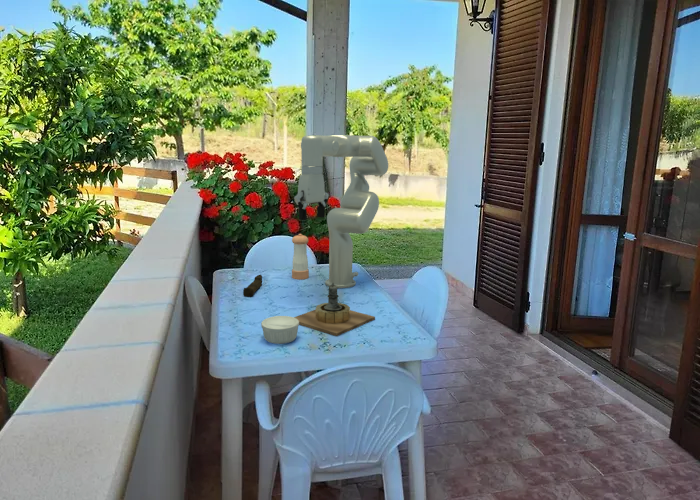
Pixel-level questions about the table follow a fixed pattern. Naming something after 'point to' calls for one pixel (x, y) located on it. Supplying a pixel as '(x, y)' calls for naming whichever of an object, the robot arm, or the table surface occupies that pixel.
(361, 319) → the wooden board
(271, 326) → the ramekin
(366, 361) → the table surface
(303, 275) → the pepper shaker
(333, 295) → the stone chess piece
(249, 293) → the brown long rounded piece
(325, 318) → the wooden ring
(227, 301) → the table surface
